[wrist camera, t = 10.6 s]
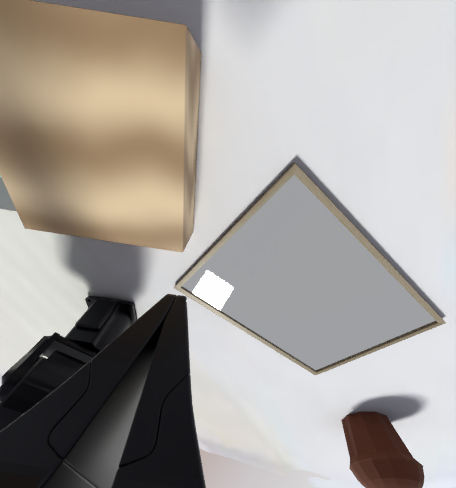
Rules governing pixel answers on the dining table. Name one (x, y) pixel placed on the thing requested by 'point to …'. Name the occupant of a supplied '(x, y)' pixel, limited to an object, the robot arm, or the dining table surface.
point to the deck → (99, 123)
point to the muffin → (379, 453)
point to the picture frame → (306, 281)
